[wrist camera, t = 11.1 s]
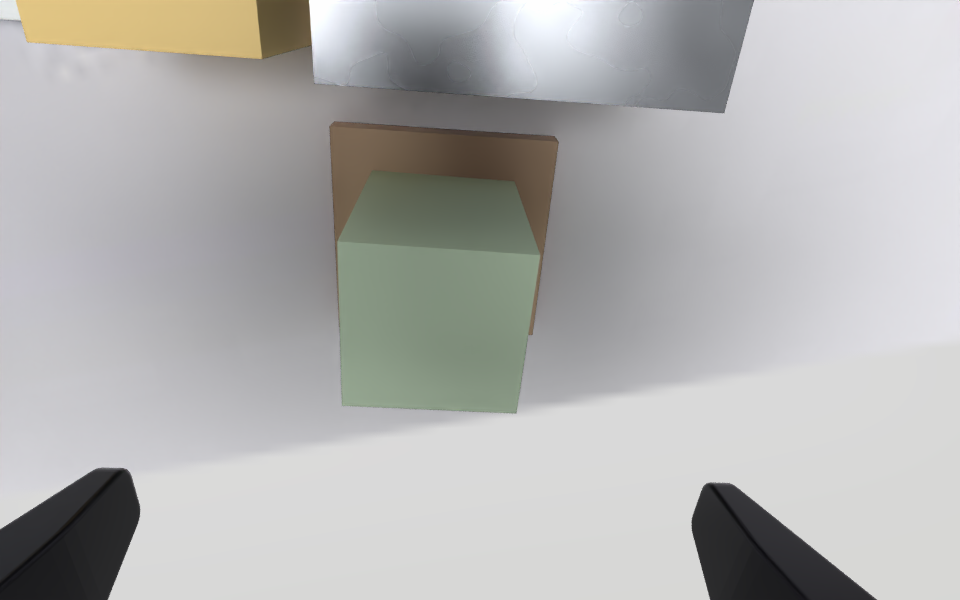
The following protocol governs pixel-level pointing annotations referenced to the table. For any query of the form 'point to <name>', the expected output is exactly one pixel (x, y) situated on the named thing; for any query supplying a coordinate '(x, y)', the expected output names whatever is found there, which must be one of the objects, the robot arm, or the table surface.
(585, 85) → the block
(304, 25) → the ochre part
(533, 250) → the green part
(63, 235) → the table surface
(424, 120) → the table surface
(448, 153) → the walnut pad
